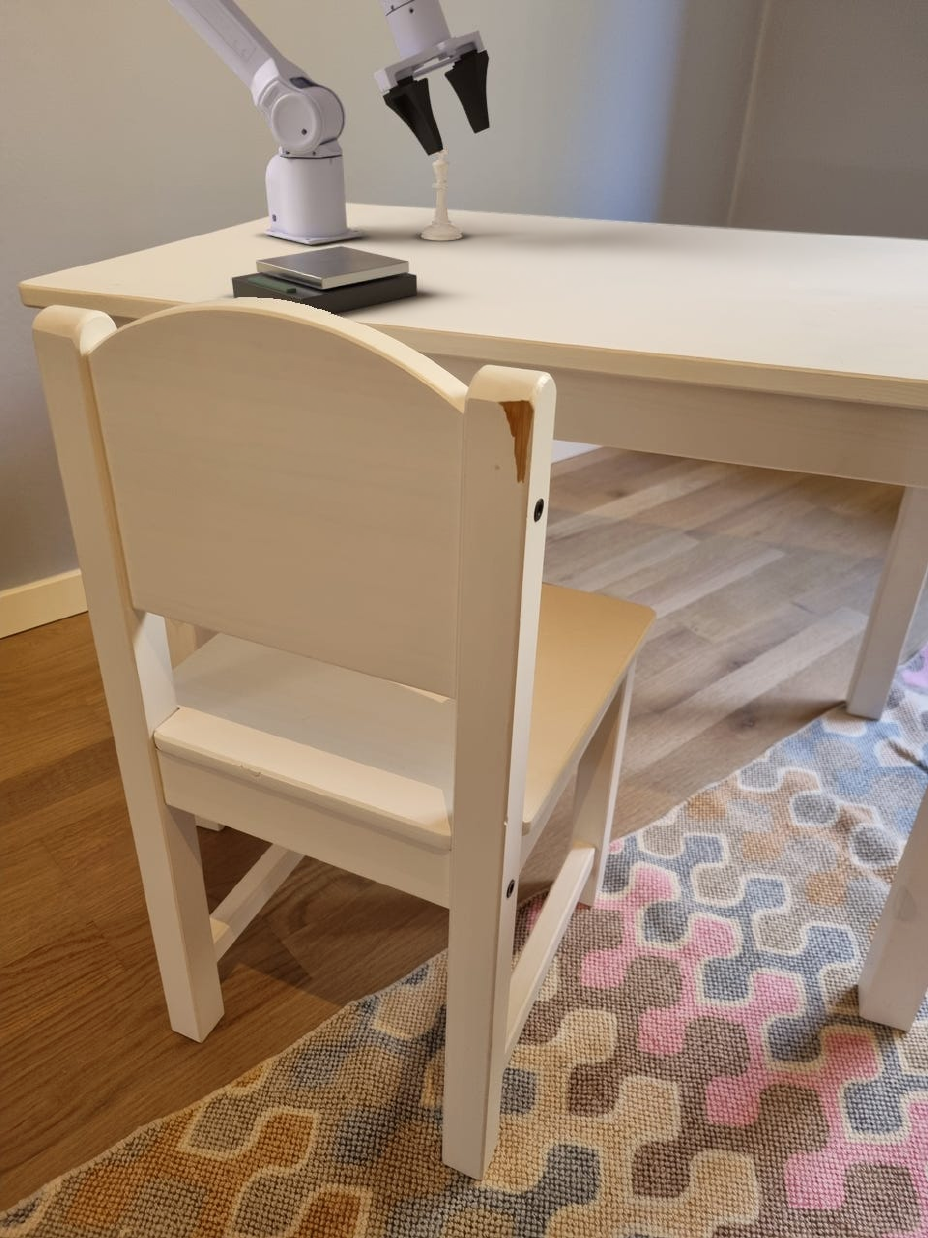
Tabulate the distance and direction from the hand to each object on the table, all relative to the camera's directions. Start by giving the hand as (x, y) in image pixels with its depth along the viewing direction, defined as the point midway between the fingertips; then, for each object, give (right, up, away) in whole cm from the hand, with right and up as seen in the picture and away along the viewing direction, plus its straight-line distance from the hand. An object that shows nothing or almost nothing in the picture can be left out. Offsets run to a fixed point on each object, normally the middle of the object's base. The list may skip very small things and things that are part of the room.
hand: (459, 141), depth 102 cm
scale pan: (-12, -21, -17) cm, 29 cm away
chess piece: (-2, -7, +9) cm, 11 cm away
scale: (-12, -23, -17) cm, 31 cm away
